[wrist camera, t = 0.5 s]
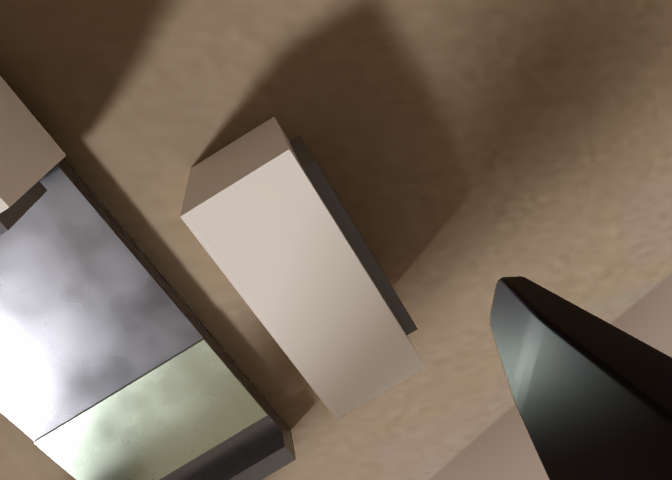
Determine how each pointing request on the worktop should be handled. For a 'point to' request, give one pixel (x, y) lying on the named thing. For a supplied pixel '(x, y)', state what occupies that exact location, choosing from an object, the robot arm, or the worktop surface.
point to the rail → (118, 356)
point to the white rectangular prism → (301, 266)
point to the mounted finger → (21, 158)
